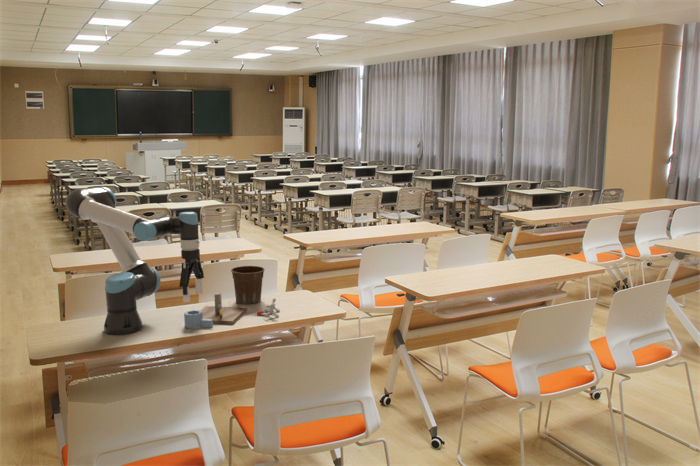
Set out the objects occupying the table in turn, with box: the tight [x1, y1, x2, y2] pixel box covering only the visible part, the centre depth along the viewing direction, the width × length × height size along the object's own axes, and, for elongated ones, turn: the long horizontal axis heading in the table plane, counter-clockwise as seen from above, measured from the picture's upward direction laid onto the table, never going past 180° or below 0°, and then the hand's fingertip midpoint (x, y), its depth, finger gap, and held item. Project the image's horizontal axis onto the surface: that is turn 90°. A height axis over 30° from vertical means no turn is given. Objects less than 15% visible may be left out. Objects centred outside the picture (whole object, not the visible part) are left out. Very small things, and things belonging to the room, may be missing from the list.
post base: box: [199, 292, 248, 325], centre depth 267 cm, size 20×20×10 cm
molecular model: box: [255, 298, 281, 318], centre depth 270 cm, size 14×8×10 cm
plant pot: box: [230, 265, 266, 305], centre depth 291 cm, size 16×16×16 cm
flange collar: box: [183, 309, 214, 329], centre depth 254 cm, size 12×7×6 cm, turn 82°
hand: (193, 297), depth 252 cm, fingers open, 13 cm apart
